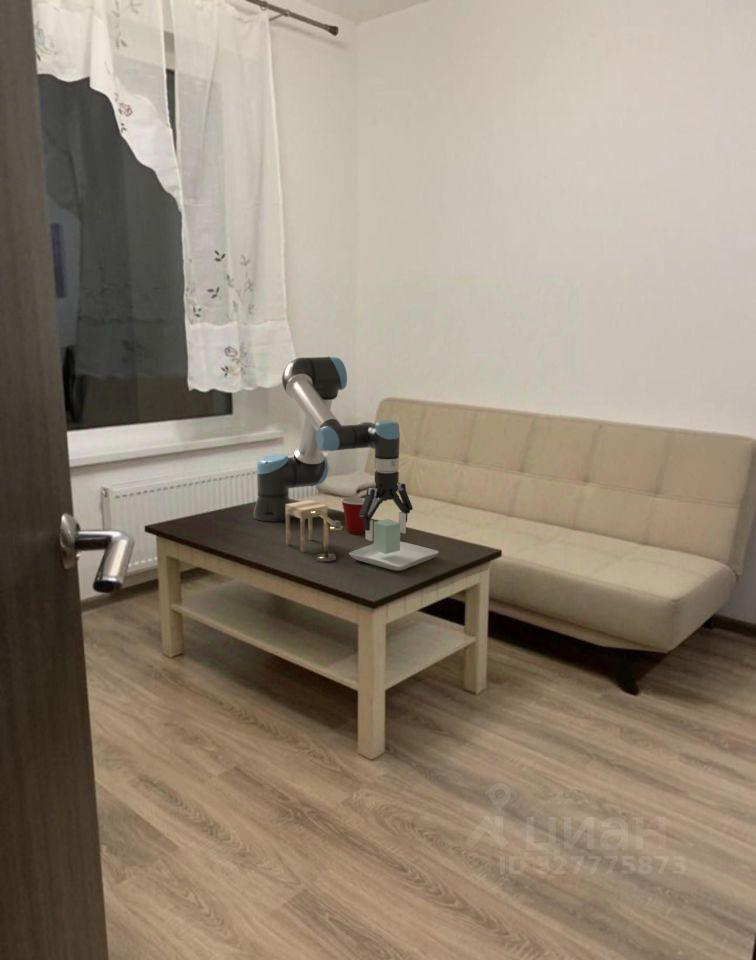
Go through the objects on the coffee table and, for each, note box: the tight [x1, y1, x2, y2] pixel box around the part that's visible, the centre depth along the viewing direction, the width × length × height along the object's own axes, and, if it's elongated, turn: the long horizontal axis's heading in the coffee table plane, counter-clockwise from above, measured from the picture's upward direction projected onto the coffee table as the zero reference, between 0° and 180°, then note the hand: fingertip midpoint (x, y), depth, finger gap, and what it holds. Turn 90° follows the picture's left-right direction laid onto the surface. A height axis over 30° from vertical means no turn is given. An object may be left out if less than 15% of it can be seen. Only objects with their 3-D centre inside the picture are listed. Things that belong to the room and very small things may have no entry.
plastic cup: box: [340, 496, 365, 535], centre depth 268 cm, size 11×11×12 cm
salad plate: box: [348, 541, 440, 572], centre depth 239 cm, size 21×21×3 cm
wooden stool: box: [285, 499, 328, 553], centre depth 251 cm, size 10×10×14 cm
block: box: [373, 518, 401, 554], centre depth 239 cm, size 6×6×9 cm
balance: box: [311, 510, 344, 563], centre depth 237 cm, size 15×6×15 cm, turn 39°
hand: (385, 536), depth 239 cm, fingers open, 13 cm apart
